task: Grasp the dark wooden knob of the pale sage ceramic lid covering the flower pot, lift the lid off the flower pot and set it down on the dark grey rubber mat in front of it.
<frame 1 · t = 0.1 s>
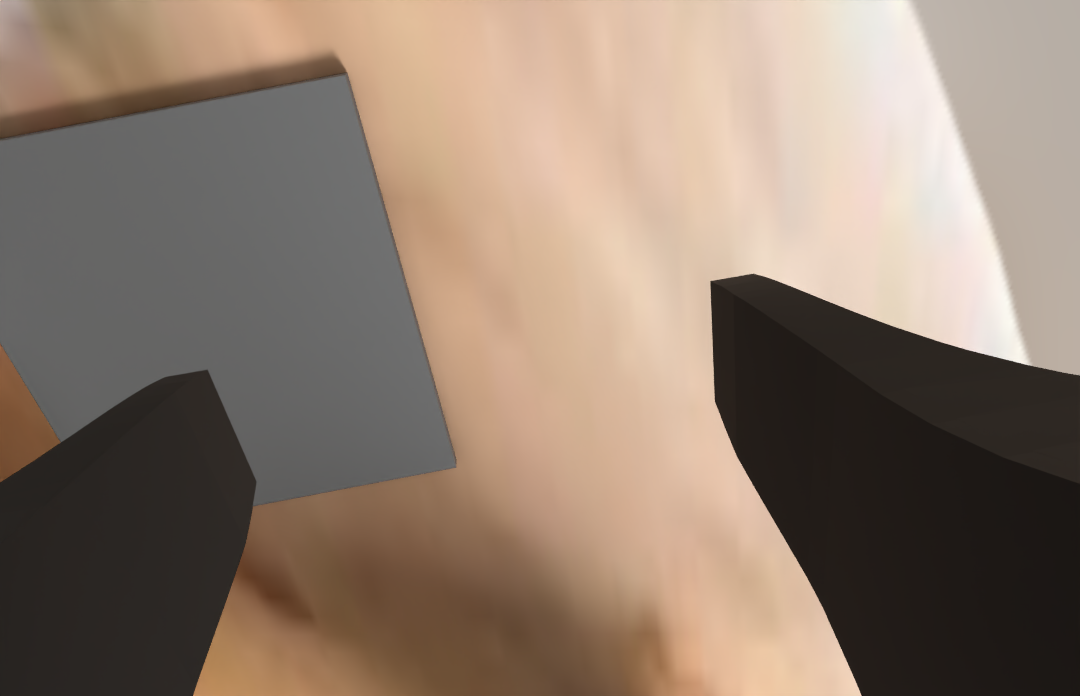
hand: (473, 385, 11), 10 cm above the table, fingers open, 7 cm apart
mat: (217, 330, 21), on the table
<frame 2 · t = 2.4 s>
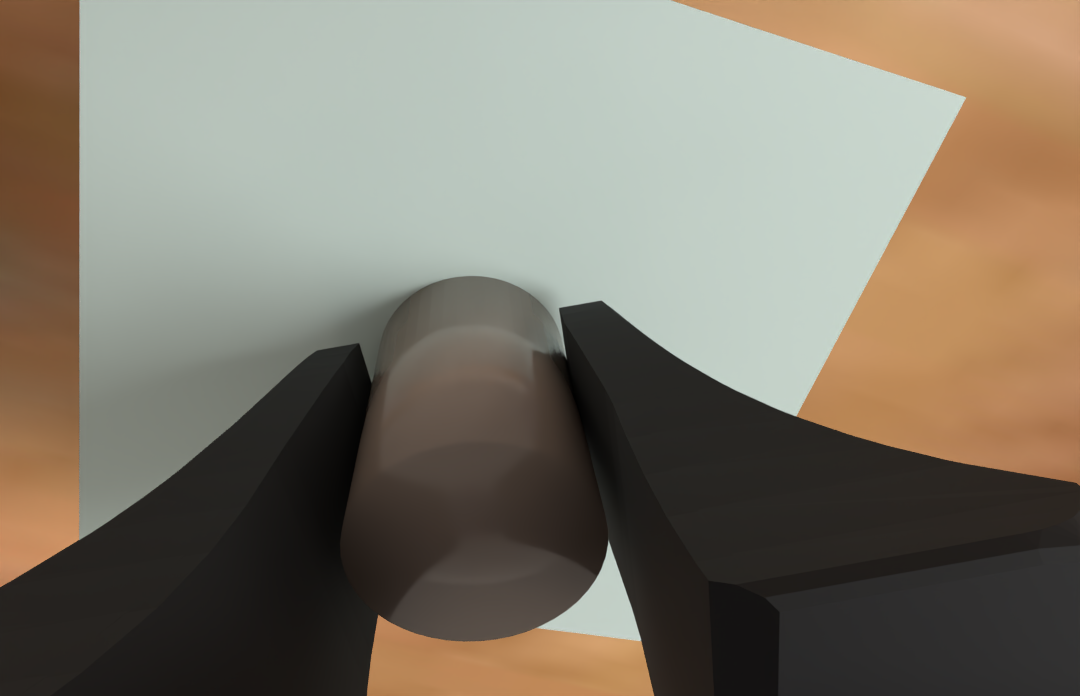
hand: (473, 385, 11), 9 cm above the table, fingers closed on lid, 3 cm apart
lid: (471, 335, 12), point 7 cm above the table, touching flower pot, gripper
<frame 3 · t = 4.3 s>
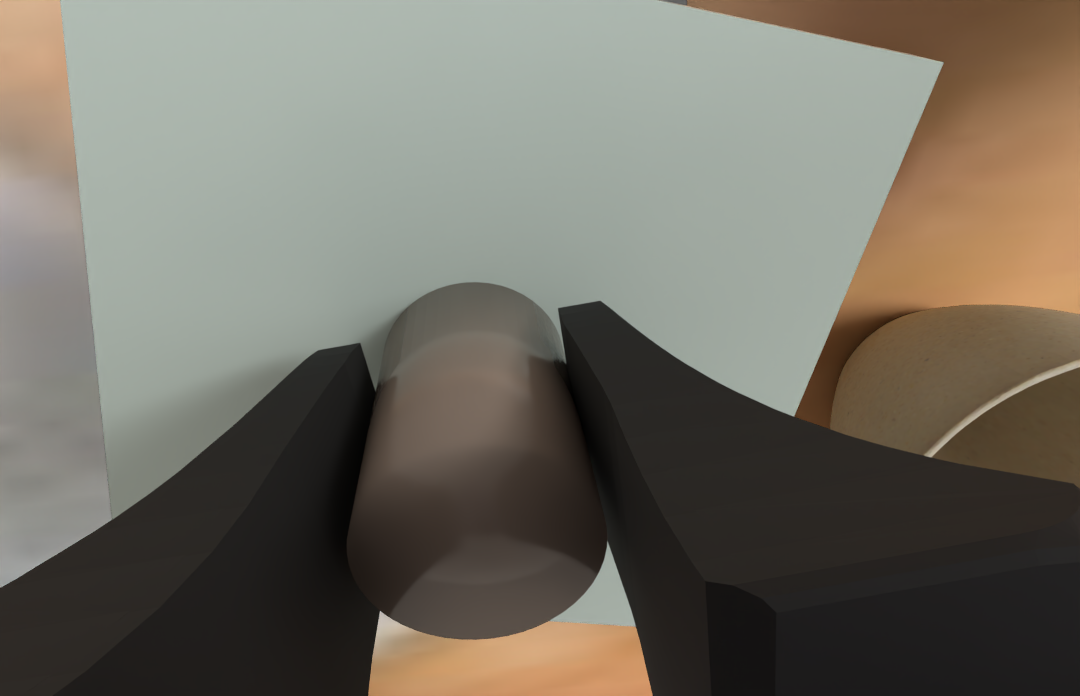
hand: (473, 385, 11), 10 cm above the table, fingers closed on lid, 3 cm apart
flower pot: (908, 374, 24), on the table
lid: (473, 340, 12), point 9 cm above the table, touching gripper
when the fingers open (3 cm above the table, at t = 6.1 s): lid drops 1 cm, resting on mat.
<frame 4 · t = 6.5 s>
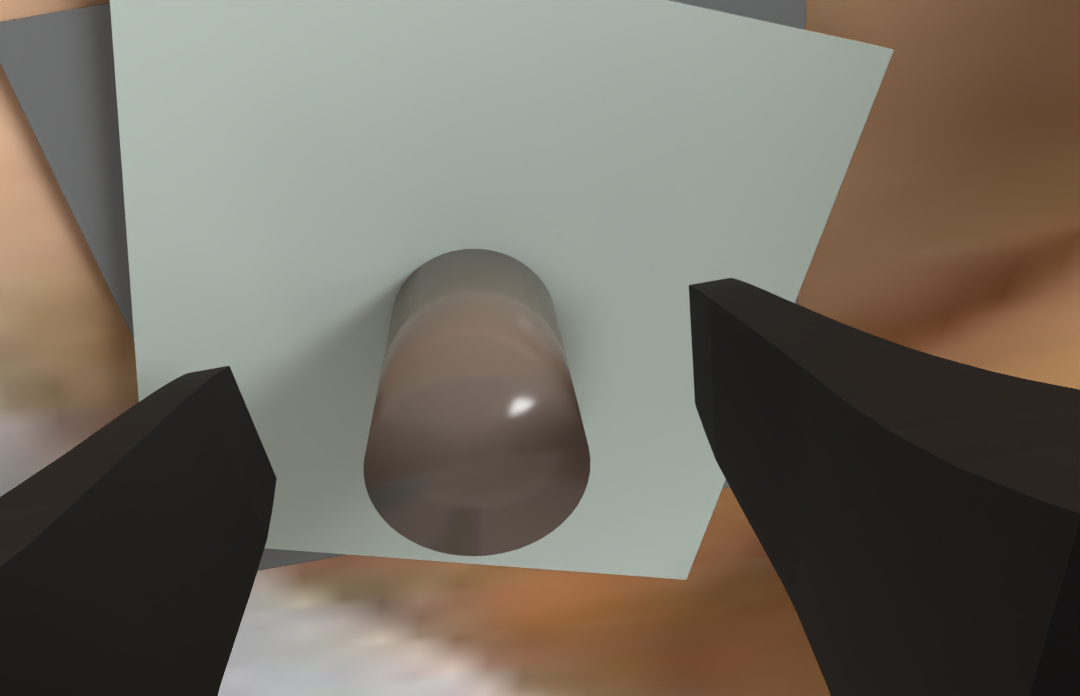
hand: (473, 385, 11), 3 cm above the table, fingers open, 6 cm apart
mat: (471, 287, 14), on the table
lid: (473, 305, 13), resting on mat
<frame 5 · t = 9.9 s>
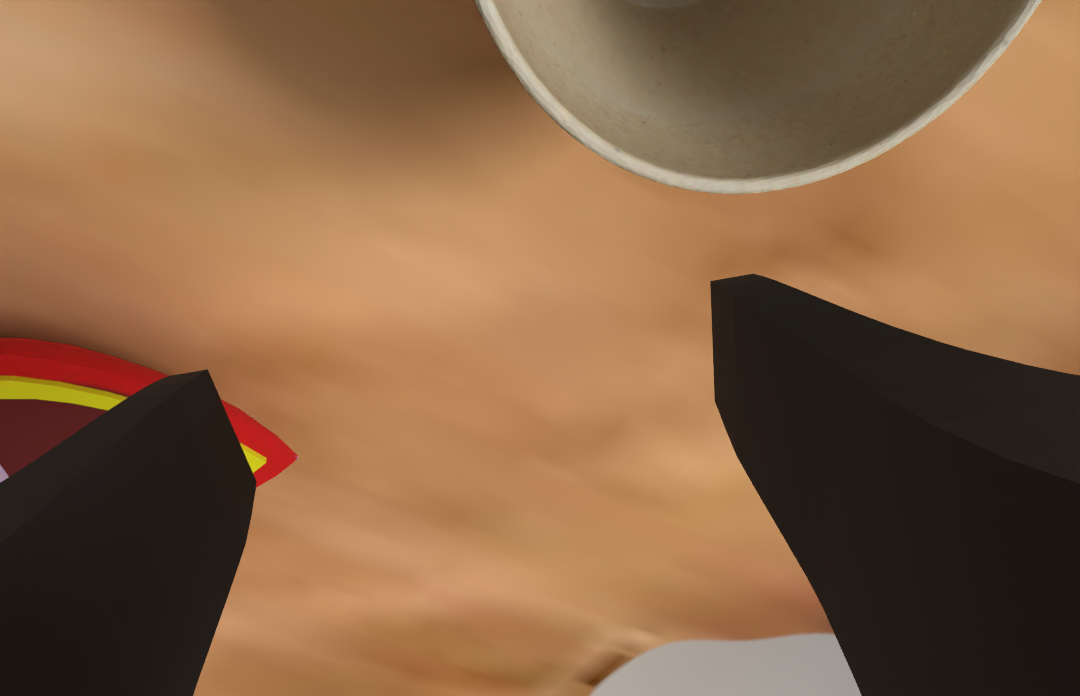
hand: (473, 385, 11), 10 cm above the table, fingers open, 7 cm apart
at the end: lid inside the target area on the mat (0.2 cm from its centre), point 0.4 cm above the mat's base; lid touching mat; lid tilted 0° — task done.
